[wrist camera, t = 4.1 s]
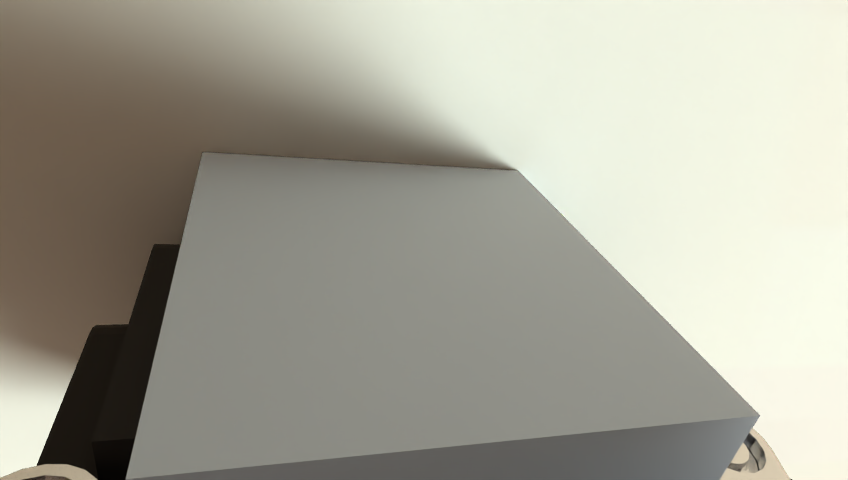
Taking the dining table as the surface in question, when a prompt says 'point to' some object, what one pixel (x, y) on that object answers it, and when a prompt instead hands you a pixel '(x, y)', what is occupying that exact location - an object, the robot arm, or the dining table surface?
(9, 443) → the dining table surface
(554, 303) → the slate block
